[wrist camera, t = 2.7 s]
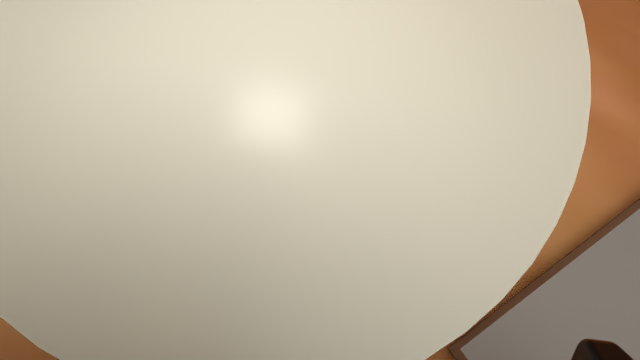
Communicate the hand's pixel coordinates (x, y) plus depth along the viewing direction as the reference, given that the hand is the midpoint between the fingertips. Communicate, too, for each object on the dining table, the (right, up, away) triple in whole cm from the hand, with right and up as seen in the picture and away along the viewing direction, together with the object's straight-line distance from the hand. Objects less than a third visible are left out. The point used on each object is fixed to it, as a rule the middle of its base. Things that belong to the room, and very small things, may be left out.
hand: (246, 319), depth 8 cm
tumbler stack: (0, 0, +10) cm, 10 cm away
